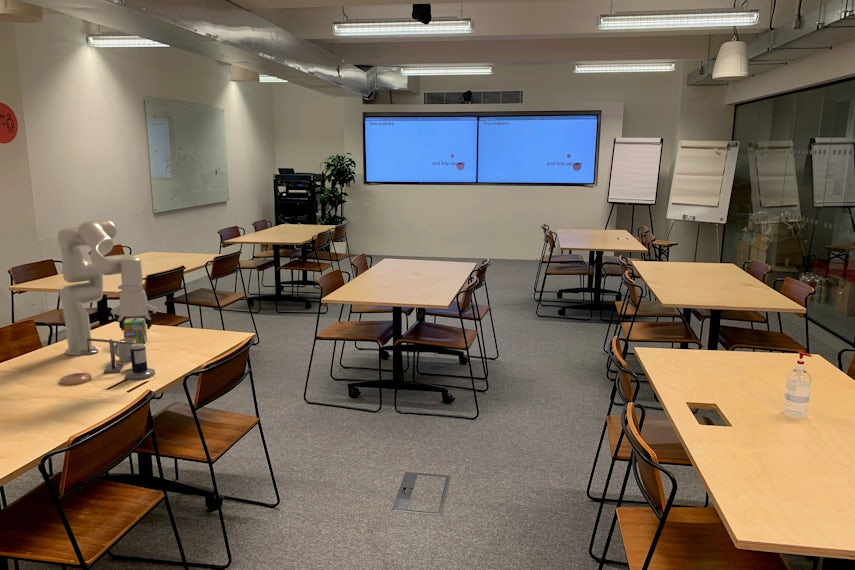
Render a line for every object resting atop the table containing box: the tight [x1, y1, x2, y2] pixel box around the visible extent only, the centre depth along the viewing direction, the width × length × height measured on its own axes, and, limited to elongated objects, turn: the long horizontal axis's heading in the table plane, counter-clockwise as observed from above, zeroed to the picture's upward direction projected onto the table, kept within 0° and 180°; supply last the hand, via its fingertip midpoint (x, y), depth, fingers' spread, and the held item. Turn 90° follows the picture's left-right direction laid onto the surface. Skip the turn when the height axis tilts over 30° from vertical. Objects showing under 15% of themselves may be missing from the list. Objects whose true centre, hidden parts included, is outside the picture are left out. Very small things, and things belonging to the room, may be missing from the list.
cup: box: [114, 338, 136, 363], centre depth 273 cm, size 7×10×9 cm
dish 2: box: [125, 367, 156, 381], centre depth 255 cm, size 11×11×1 cm
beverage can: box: [130, 343, 148, 374], centre depth 254 cm, size 6×6×12 cm
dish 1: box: [59, 372, 93, 386], centre depth 249 cm, size 11×11×1 cm
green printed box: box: [123, 316, 148, 345], centre depth 297 cm, size 9×9×15 cm
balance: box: [78, 337, 135, 374], centre depth 260 cm, size 8×25×15 cm, turn 105°
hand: (135, 329), depth 251 cm, fingers open, 9 cm apart
